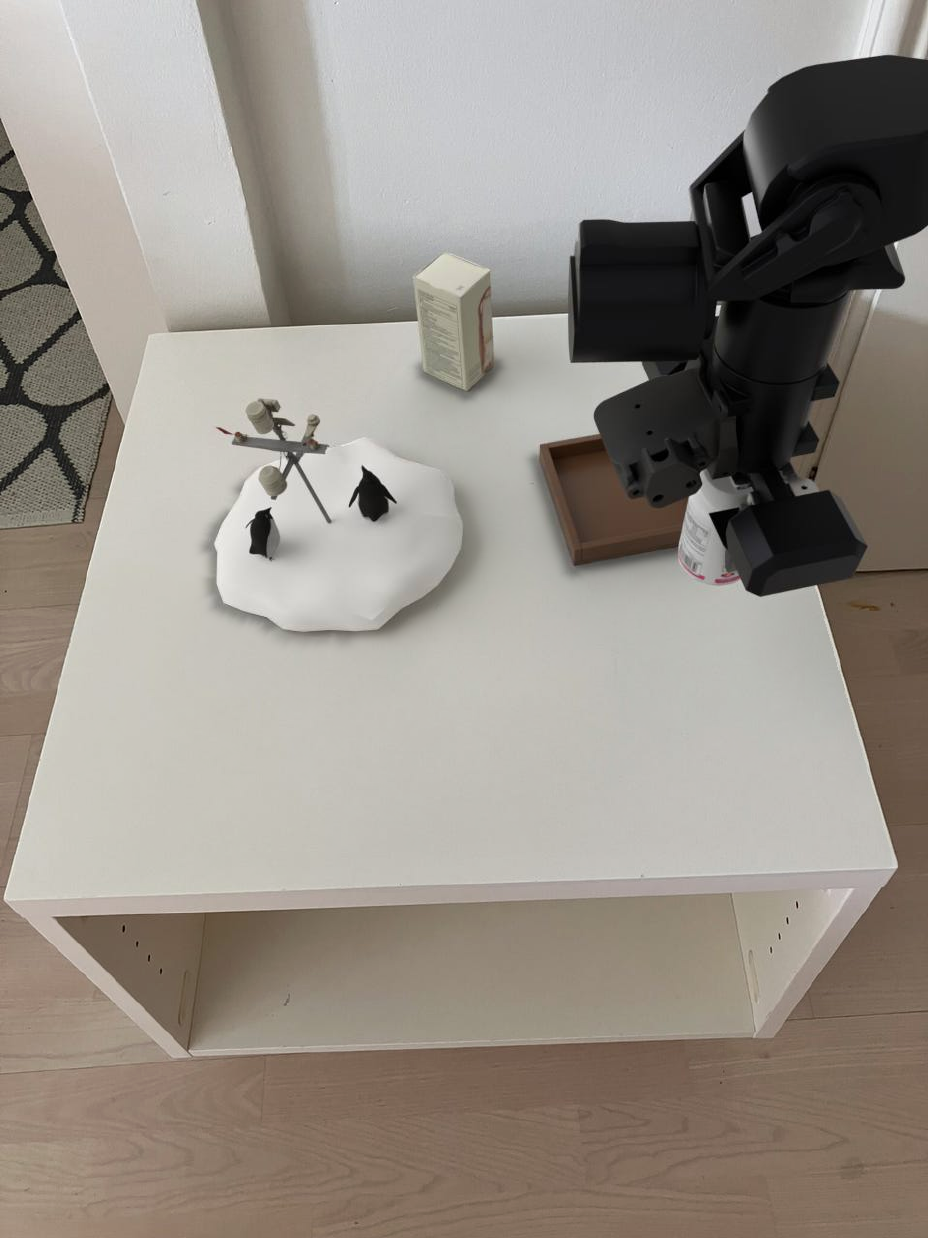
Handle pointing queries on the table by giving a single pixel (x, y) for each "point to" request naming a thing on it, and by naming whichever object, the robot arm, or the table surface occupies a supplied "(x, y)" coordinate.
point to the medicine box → (455, 319)
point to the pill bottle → (708, 531)
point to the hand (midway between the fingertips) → (719, 537)
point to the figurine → (333, 531)
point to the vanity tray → (603, 504)
